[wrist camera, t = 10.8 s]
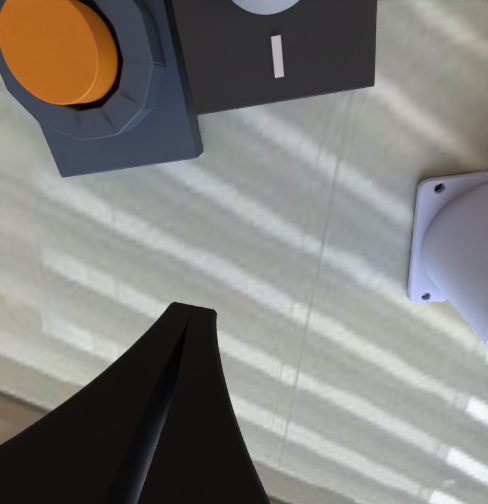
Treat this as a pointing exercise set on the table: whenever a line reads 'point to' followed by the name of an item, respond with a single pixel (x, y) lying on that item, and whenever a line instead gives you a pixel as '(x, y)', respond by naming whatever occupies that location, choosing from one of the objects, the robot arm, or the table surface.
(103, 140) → the button base
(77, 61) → the button
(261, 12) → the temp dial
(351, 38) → the dial panel
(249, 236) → the table surface
